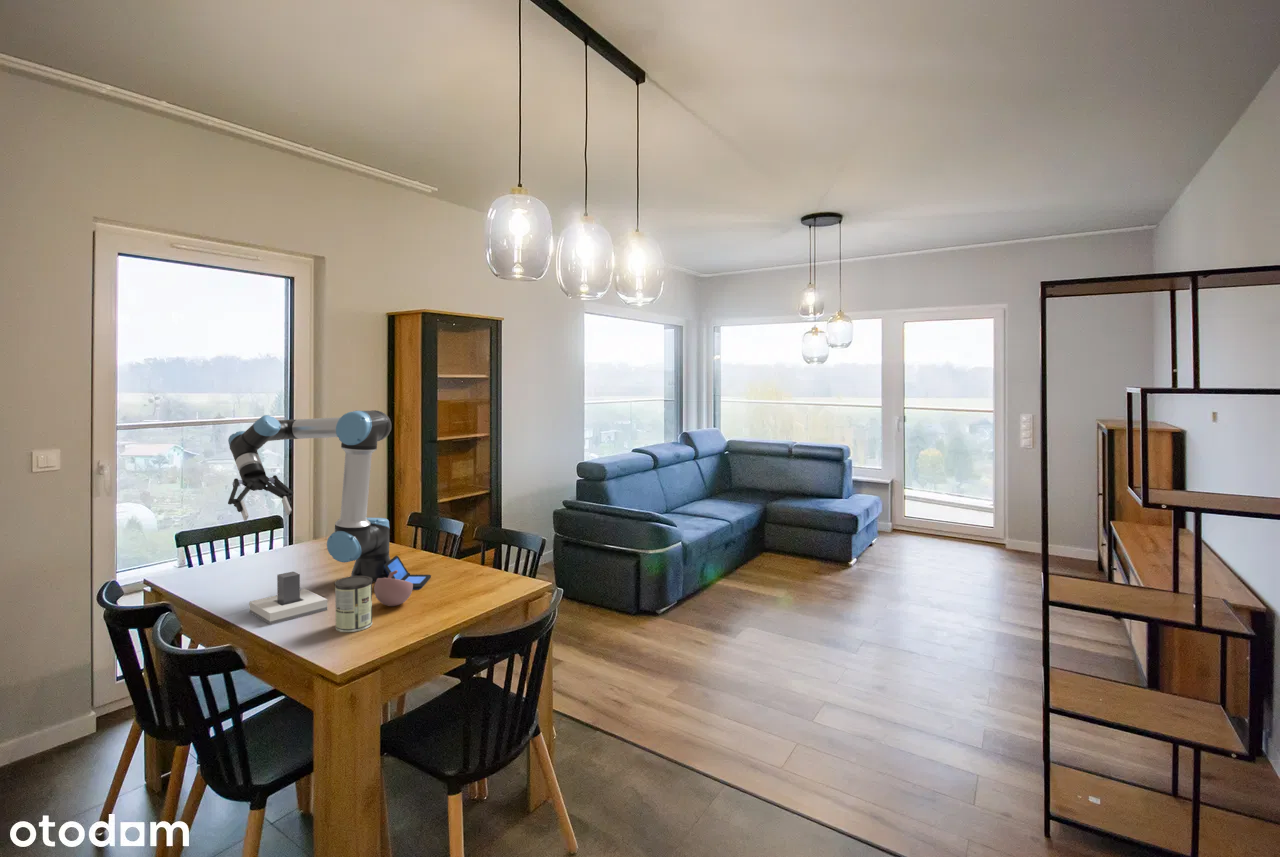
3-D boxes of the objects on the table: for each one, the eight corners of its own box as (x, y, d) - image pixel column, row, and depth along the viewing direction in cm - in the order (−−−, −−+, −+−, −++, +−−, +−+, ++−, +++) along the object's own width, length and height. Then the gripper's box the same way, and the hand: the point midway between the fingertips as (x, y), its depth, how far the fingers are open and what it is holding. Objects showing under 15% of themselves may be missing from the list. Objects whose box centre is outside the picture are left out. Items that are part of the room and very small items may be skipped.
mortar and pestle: (419, 600, 208) (419, 567, 207) (401, 612, 196) (402, 577, 195) (386, 598, 209) (386, 565, 208) (367, 610, 197) (366, 575, 197)
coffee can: (344, 619, 189) (344, 575, 188) (377, 620, 189) (377, 575, 188) (328, 632, 178) (328, 585, 178) (363, 632, 179) (363, 586, 178)
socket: (305, 598, 206) (305, 588, 206) (327, 609, 197) (327, 599, 196) (249, 612, 193) (249, 601, 193) (270, 624, 183) (270, 613, 183)
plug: (293, 604, 198) (293, 571, 198) (299, 607, 195) (299, 574, 195) (277, 608, 194) (277, 574, 194) (284, 611, 191) (283, 577, 191)
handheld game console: (420, 590, 219) (420, 565, 218) (382, 590, 217) (382, 565, 217) (431, 577, 234) (431, 554, 234) (396, 577, 233) (396, 554, 233)
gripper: (284, 472, 229) (302, 516, 221) (207, 478, 210) (224, 527, 201) (290, 459, 226) (309, 504, 218) (212, 464, 206) (230, 513, 198)
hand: (268, 515), depth 209 cm, fingers open, 13 cm apart
